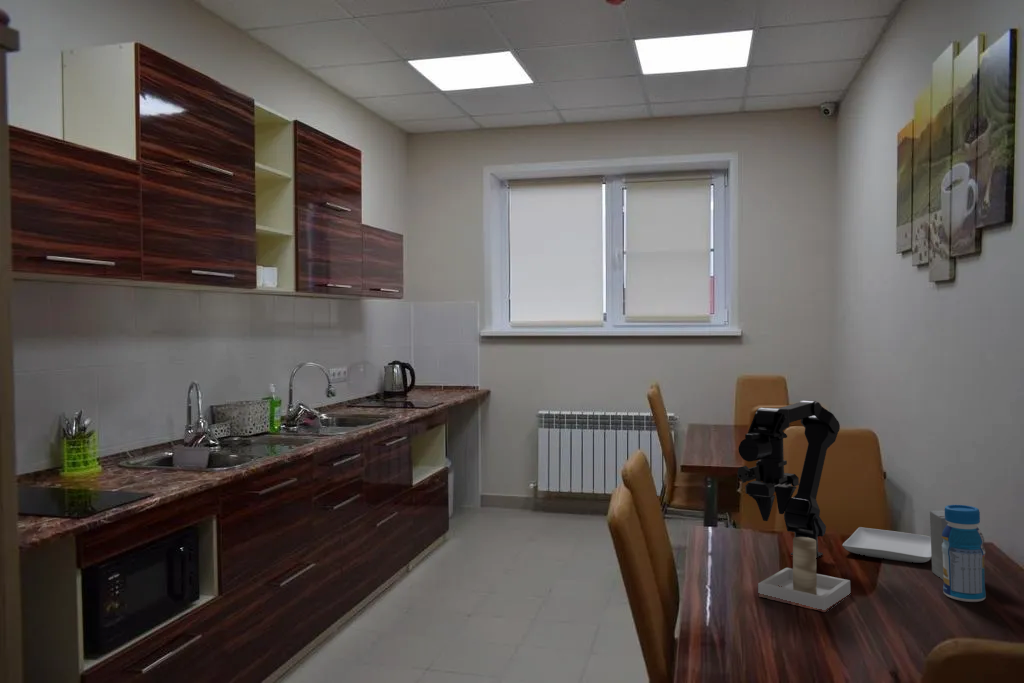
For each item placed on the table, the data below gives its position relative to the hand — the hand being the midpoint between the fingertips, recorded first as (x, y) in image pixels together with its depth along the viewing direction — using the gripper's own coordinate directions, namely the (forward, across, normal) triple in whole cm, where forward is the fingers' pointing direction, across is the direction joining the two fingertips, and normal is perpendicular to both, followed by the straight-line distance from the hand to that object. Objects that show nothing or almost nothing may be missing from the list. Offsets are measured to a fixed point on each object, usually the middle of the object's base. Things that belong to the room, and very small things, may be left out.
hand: (773, 517), depth 188 cm
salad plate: (+14, -33, +18) cm, 40 cm away
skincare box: (+13, -20, +36) cm, 43 cm away
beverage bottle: (+13, -7, +41) cm, 44 cm away
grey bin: (+13, +15, +14) cm, 24 cm away
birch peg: (+12, +15, +14) cm, 24 cm away
